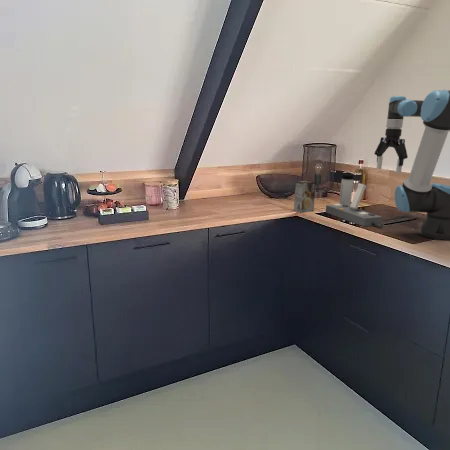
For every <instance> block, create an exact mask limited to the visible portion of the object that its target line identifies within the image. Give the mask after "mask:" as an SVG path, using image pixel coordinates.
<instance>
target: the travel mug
mask: <svg viewBox="0 0 450 450" xmlns="http://www.w3.org/2000/svg"><path fill="white" fill-rule="evenodd" d="M354 175H355V174H354V173H351V172H348V171H346V172H343V173H342V175H341V182H340V193H339V200H338V201H339V202H338V204H344V205H348V206H350V205H351V203H352V194H353V184H354Z"/></svg>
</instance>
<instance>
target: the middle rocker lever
mask: <svg viewBox="0 0 450 450" xmlns="http://www.w3.org/2000/svg"><path fill="white" fill-rule="evenodd" d="M367 186H368V185H366V184H364V183H360V182H359V183H357V188H356V190H355V193H354V196H353V198H352V199H351V204H350V207H349V209H351V210H354V211H356V210H357V209H358V207H359V204H360V202H361V200H362V197H363V195H364V192H365V190H366V189H367Z"/></svg>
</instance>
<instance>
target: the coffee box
mask: <svg viewBox="0 0 450 450" xmlns="http://www.w3.org/2000/svg"><path fill="white" fill-rule="evenodd" d="M315 193H316V182H315V181H311V180H299V181H295V189H294V205H293V211H295V212H299V213H307V212H314V208H315V195H316V194H315Z"/></svg>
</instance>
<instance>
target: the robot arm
mask: <svg viewBox="0 0 450 450" xmlns="http://www.w3.org/2000/svg"><path fill="white" fill-rule="evenodd" d="M406 97H407V96H403V95H401V96H399V95H392V96H391V97H390V98H389V103H388V109H387V116H386V117H387V119H386V125H385V126H386V128H385V133H384V135H385V137H384V136H382V137H380V140H379V143H378V144H377V147H376V149H375V151H374V153H373V154H374V155H375V156H376V169H377V170H382V166H383V160H384V159H383V158H384V153H385V152H386V151H387V150H388V148H393V149H394V150H395V153H396V155H397V157H398V159H397V161H396V169H395V173H397V174H398V173H402V168H403V166H404V161H405V160H406V159H408V152H407V149H406V144H405V143H406V139H405V138H401V137H402V131H403V130H402V128H403V124H404V117H405V118H406V117H407V118H408V117H409V118H411V117H412V118H413V117H415V118H417V117H418V118H421V120H422V124H423V126H424V127H425V128H424V131H423V133H422V137H421V140H420V144H419V146H418V149H417V152H416V155H415V158H414V161H413V165H412V168H411V171H410V173H409V176H408V177H406V178H405V179H404V180H403V183H402V185H401V184H399V185H397V186H396V188H395V190H394V204H395V206H396V209H397V210H398V211H400V212H404V213H405V212H406V213H423V214H424V213H426V217H425V218H424V220H423V222H422V224H421V226H420V228H419V234H420V235H421V236H423V237H426V238H430V239H432V240H433V239H434V240H440V239H443V240H442V241H450V185H448V184H443V183H437V182H431V181H432V177H433V175H434V172H435V170H436V168H437V164H438V162H439V159H440V156H441V154H442V153H441V152H442V151H443V148H444V145H445V143H446V140H447V138H448V134H449V132H450V90H449V89H448V90H447V89H442V90H433V91H431V92H430V93H428V94H427V95H426V96H425V98H424V100H420V99H419V100H415V99H407V98H406Z"/></svg>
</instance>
